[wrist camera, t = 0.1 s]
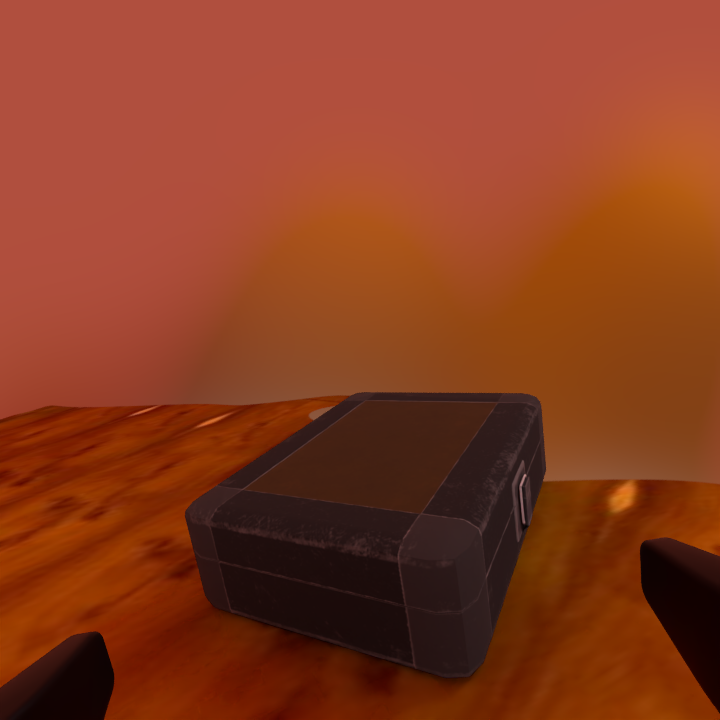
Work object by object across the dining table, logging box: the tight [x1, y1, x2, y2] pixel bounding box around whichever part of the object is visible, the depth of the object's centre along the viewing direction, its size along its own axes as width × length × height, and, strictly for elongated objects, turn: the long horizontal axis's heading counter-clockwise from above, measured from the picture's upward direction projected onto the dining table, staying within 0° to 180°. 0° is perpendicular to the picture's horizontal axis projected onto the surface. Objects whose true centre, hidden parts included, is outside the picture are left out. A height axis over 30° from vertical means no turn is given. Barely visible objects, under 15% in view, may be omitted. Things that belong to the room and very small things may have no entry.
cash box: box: [185, 392, 546, 678], centre depth 39 cm, size 25×20×8 cm
